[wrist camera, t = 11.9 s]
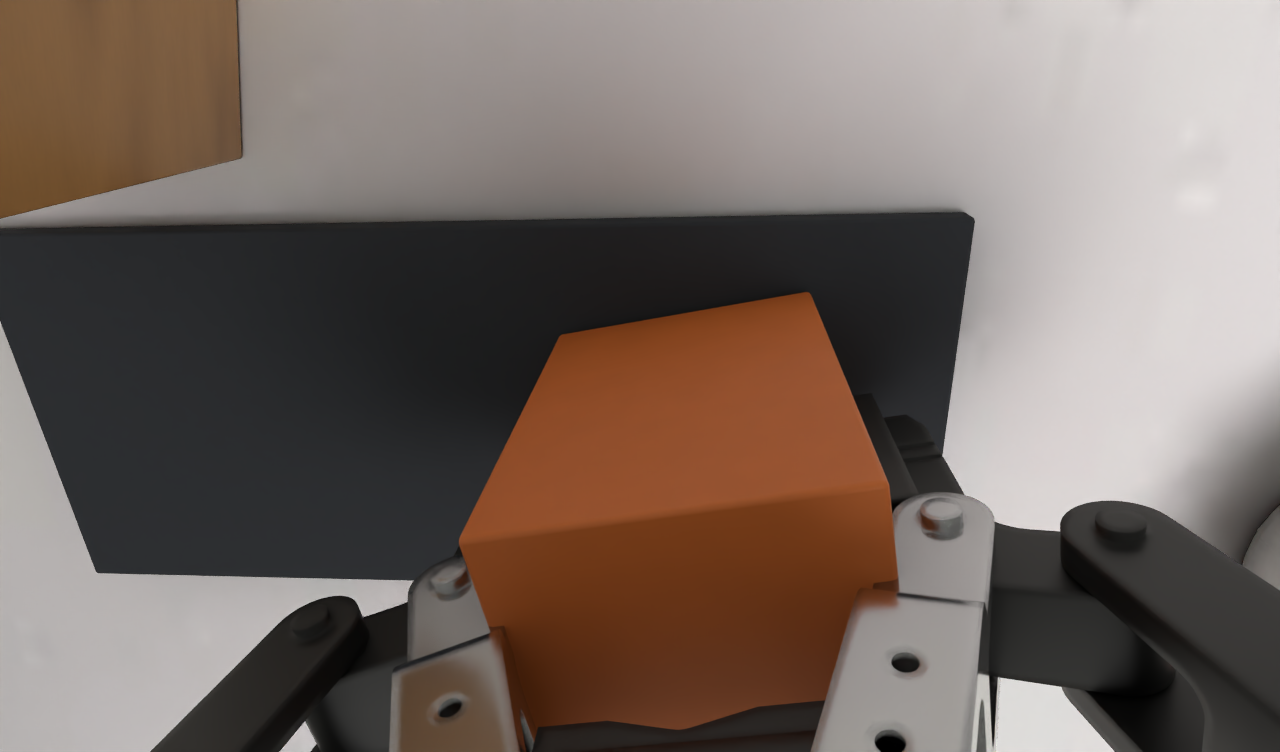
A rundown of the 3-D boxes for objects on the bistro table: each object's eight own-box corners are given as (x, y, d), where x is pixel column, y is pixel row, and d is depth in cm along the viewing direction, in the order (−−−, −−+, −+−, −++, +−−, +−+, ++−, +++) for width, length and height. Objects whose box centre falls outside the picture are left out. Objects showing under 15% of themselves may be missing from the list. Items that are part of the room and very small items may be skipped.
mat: (112, 559, 20) (95, 574, 19) (-11, 228, 16) (-35, 235, 16) (917, 576, 18) (924, 593, 17) (965, 211, 15) (976, 218, 14)
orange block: (613, 539, 17) (559, 830, 11) (558, 333, 15) (454, 541, 9) (838, 509, 17) (922, 804, 10) (810, 289, 15) (890, 482, 8)
